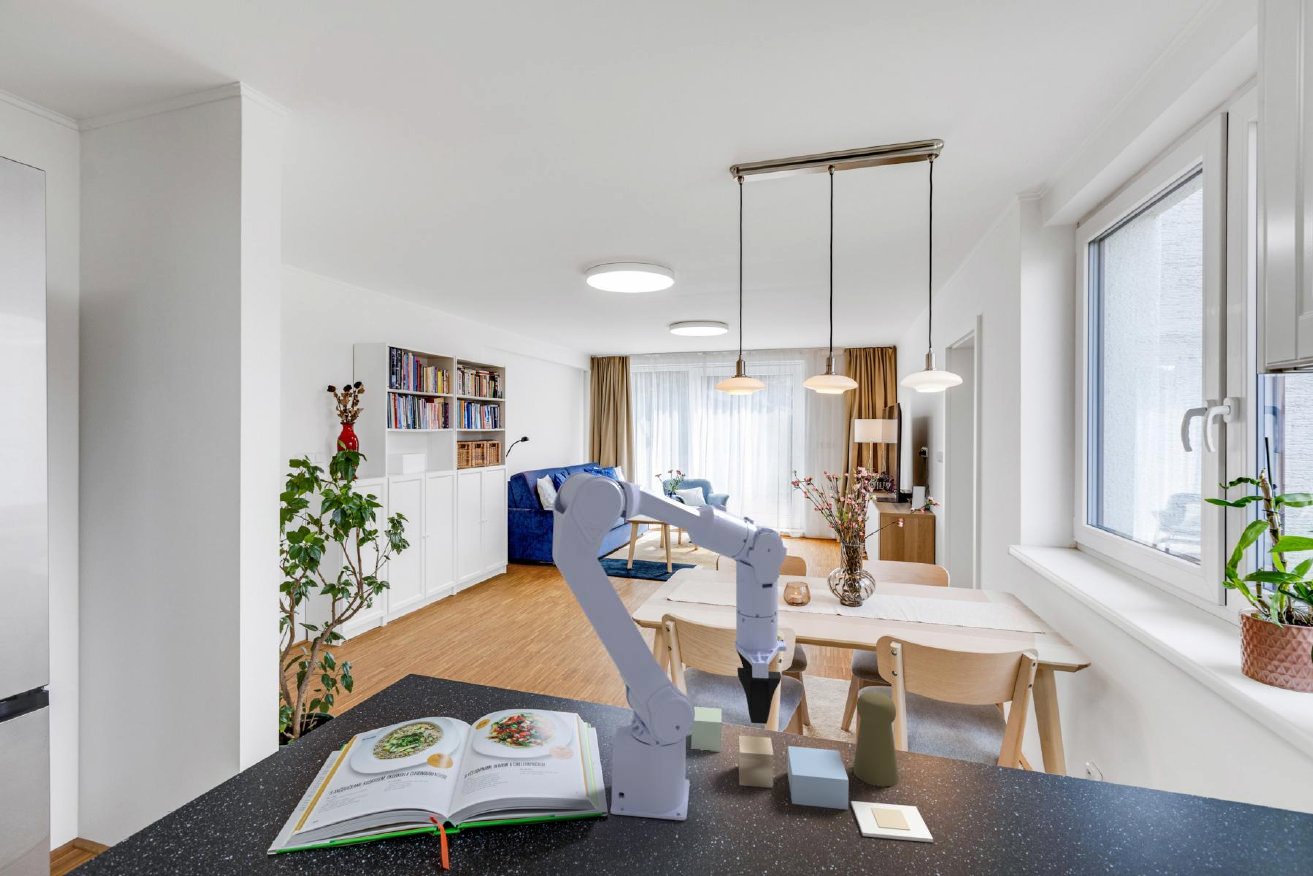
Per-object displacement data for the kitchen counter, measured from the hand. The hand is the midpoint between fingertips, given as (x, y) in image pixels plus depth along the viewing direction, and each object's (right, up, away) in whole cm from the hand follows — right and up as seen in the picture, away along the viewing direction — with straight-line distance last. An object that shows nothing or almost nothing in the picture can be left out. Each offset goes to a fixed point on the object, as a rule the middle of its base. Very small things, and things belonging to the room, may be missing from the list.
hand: (757, 708), depth 79 cm
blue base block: (+7, -10, -3) cm, 13 cm away
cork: (+17, -10, +1) cm, 20 cm away
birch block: (0, -10, 0) cm, 10 cm away
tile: (+15, -10, -9) cm, 20 cm away
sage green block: (-6, -10, +9) cm, 14 cm away
